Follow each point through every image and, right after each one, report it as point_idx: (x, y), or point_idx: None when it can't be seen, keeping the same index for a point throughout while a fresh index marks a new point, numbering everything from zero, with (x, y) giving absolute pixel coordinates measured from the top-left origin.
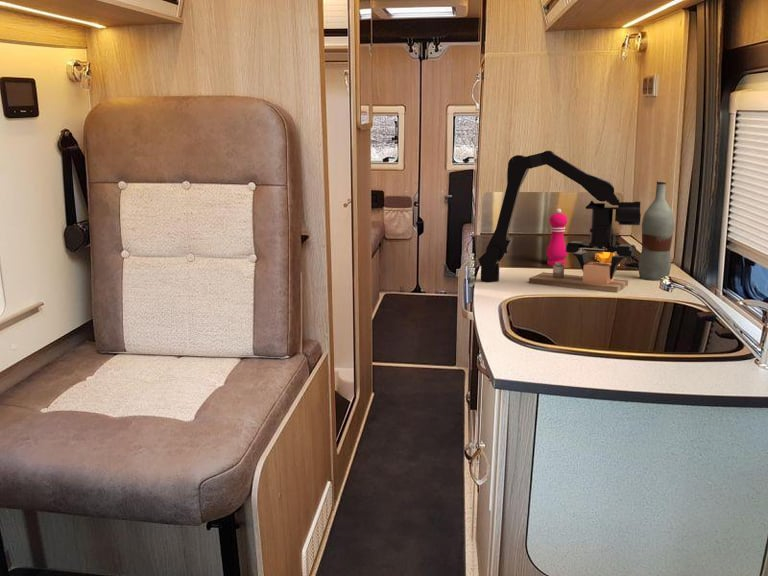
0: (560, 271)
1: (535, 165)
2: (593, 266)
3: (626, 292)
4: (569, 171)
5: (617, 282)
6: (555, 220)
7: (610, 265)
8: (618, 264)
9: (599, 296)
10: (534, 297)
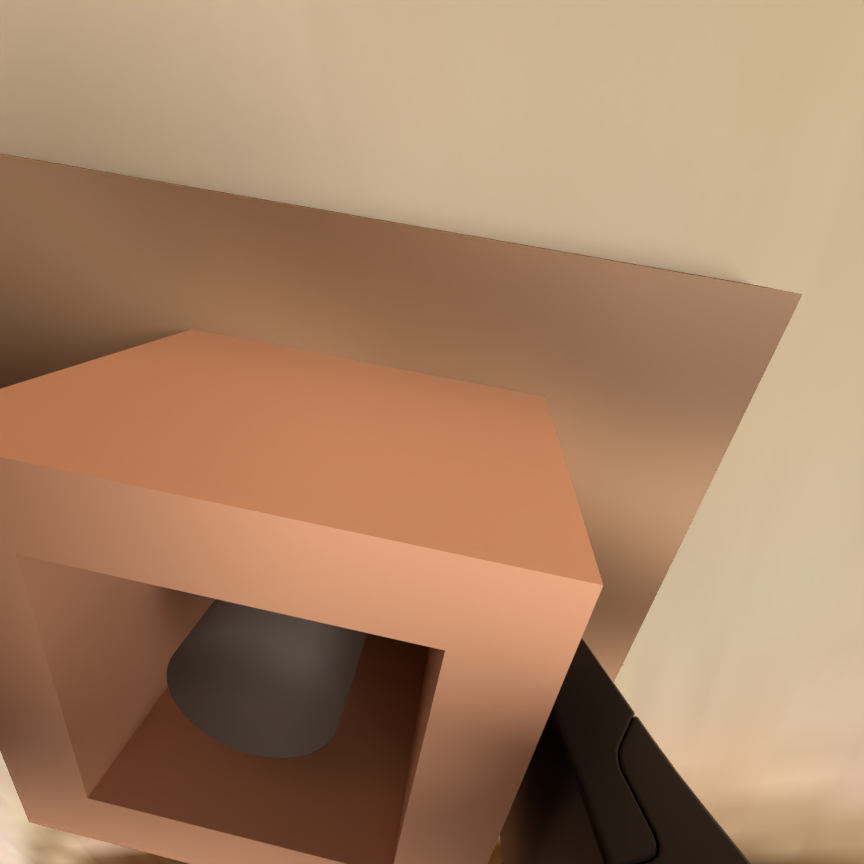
0: None
1: None
2: (204, 852)
3: (663, 677)
4: None
5: (596, 528)
6: None
7: (487, 807)
8: (697, 815)
9: None
10: (119, 857)
